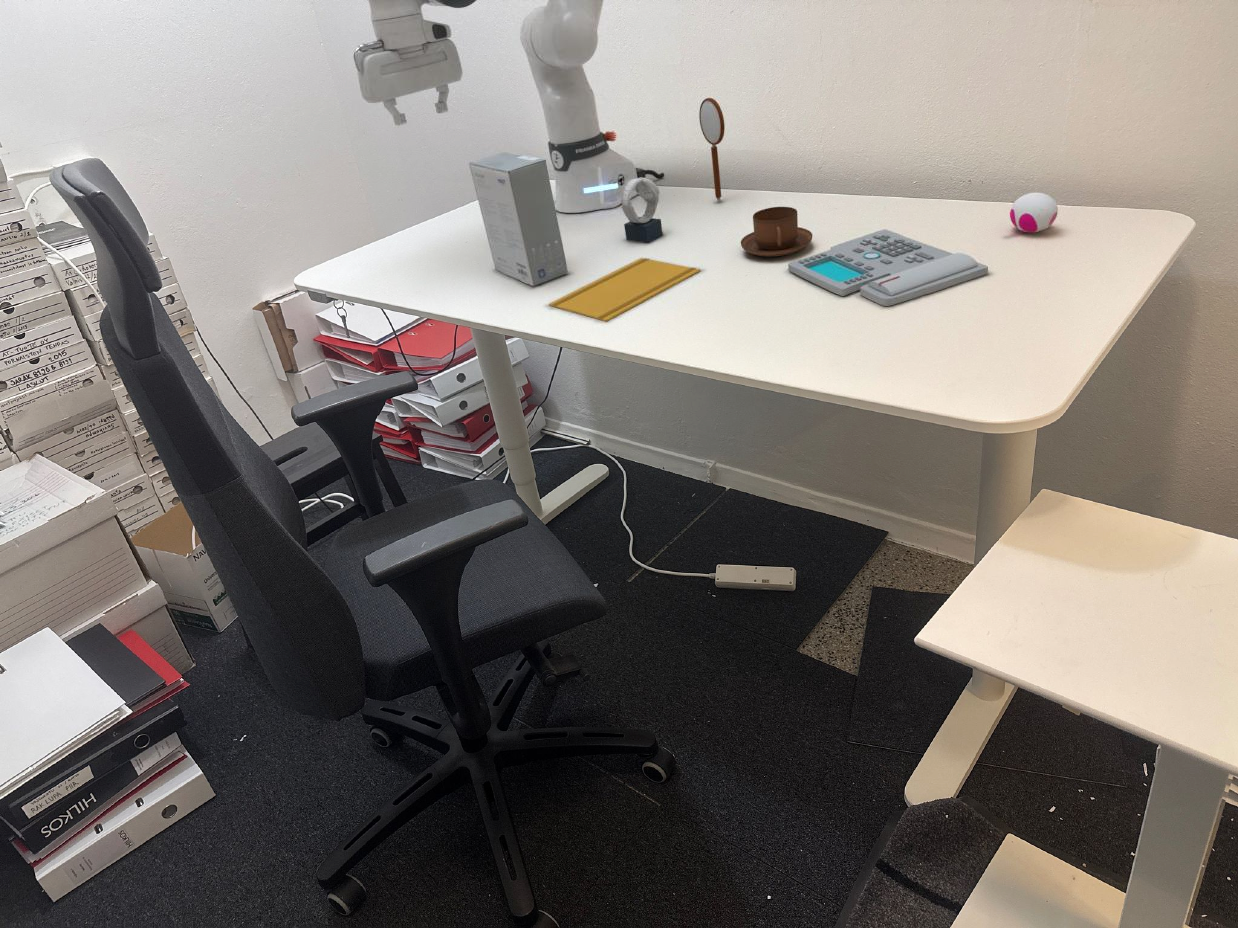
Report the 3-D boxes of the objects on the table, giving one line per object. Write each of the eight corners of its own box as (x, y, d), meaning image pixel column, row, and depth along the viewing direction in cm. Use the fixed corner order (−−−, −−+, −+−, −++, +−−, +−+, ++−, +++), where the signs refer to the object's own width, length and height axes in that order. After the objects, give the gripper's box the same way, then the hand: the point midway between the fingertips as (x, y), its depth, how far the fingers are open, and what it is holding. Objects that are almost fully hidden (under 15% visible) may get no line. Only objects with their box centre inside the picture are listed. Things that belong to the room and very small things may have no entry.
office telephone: (991, 257, 117) (876, 297, 112) (989, 274, 119) (876, 314, 113) (885, 221, 136) (781, 253, 130) (884, 236, 137) (782, 269, 132)
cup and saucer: (825, 250, 136) (825, 213, 133) (759, 268, 134) (757, 231, 131) (792, 232, 146) (791, 197, 143) (730, 248, 144) (727, 213, 141)
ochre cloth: (641, 259, 147) (641, 257, 146) (700, 271, 137) (700, 269, 137) (549, 305, 135) (548, 303, 135) (606, 321, 126) (606, 319, 126)
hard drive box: (570, 274, 146) (547, 159, 135) (533, 288, 143) (507, 172, 132) (528, 257, 158) (504, 150, 147) (493, 270, 154) (466, 162, 144)
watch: (669, 232, 157) (661, 173, 151) (642, 246, 152) (633, 186, 147) (646, 229, 161) (639, 172, 155) (620, 243, 156) (610, 185, 150)
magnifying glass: (733, 205, 165) (724, 99, 154) (725, 207, 164) (716, 101, 153) (712, 197, 172) (702, 95, 161) (705, 199, 171) (694, 97, 160)
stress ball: (1003, 247, 134) (985, 219, 130) (1041, 210, 133) (1023, 181, 129) (1036, 258, 127) (1018, 229, 124) (1076, 219, 126) (1058, 189, 123)
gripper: (360, 46, 136) (384, 133, 144) (457, 25, 148) (474, 106, 155) (341, 47, 140) (365, 131, 148) (437, 26, 152) (455, 106, 159)
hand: (422, 118), depth 152 cm, fingers open, 8 cm apart
